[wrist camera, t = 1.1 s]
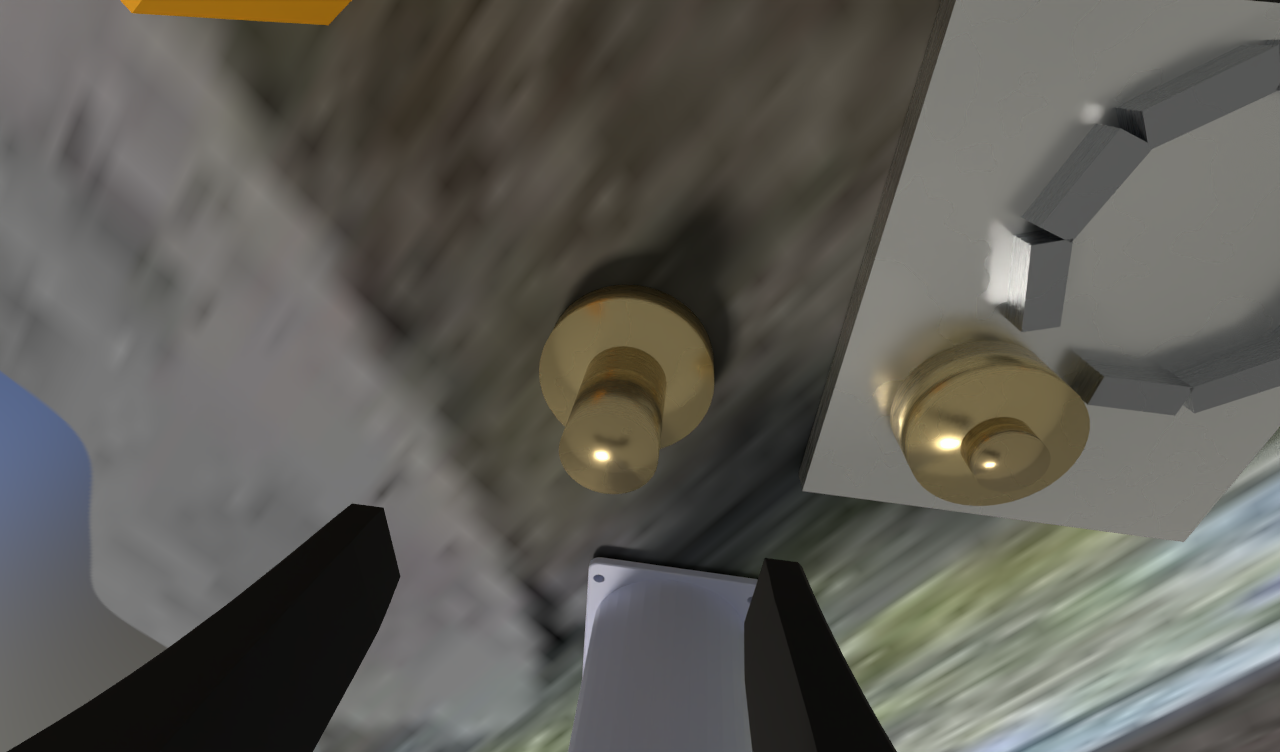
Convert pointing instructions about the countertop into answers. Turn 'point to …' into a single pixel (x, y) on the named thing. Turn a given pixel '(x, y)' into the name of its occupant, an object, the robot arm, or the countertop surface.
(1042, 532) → the countertop surface
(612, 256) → the countertop surface
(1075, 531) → the countertop surface
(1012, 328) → the carrier
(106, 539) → the countertop surface
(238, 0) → the pipe clamp
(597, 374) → the flanged cylinder knob
